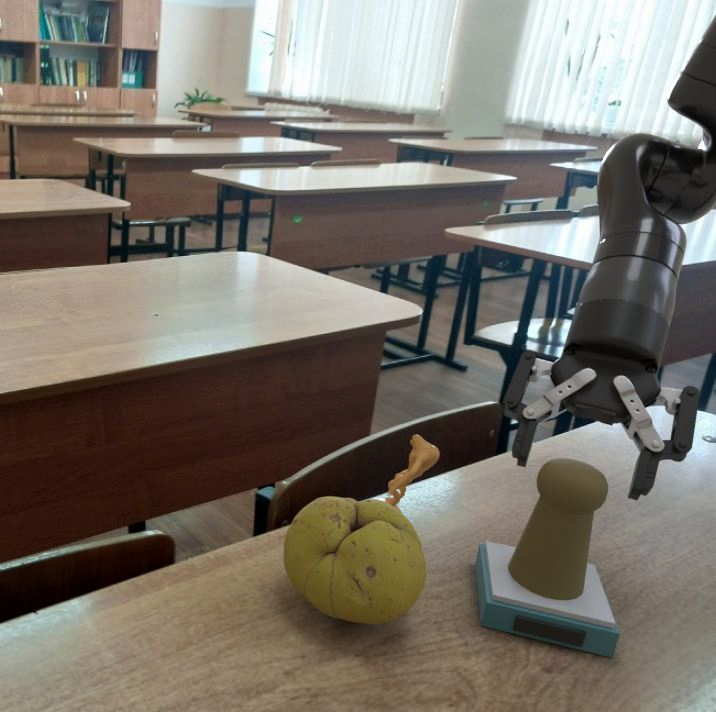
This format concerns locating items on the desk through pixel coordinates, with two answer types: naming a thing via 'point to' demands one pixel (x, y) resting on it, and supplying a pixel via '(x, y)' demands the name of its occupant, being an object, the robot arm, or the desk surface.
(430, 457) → the figurine
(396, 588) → the fruit
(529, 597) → the scale
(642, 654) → the desk surface
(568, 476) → the cork
